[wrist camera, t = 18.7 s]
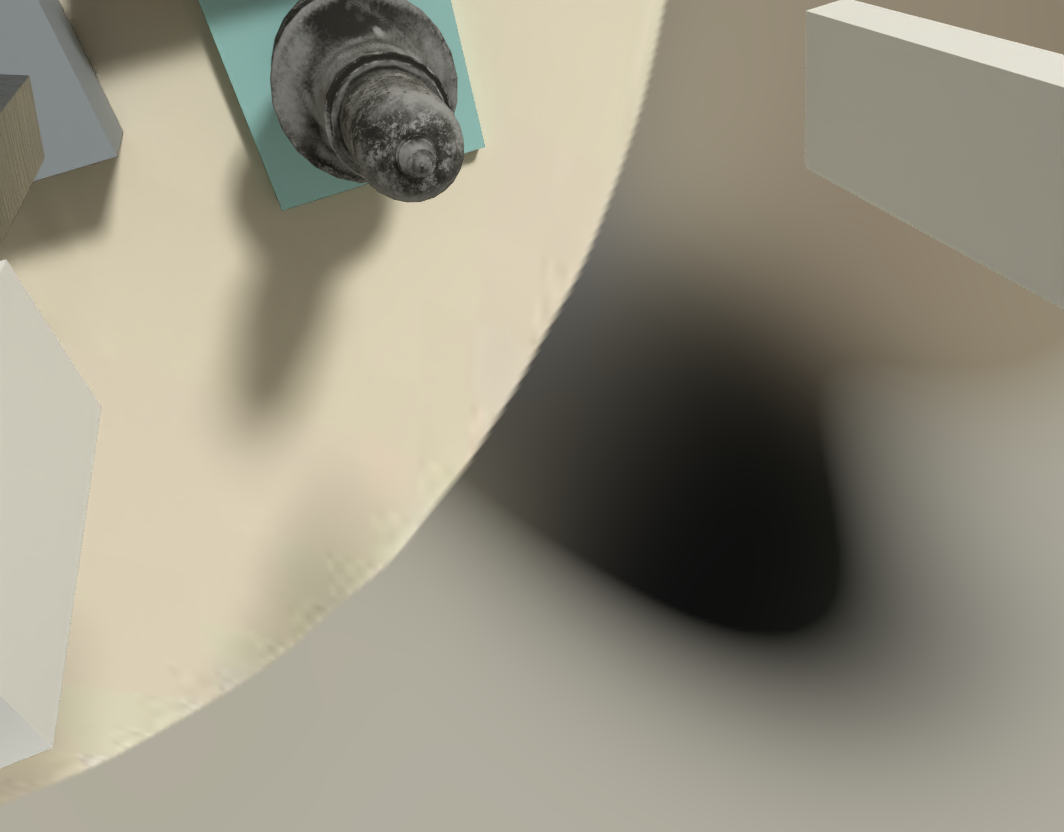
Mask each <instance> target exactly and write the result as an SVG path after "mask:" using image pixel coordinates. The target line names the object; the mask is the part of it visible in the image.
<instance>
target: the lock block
mask: <svg viewBox="0 0 1064 832" xmlns="http://www.w3.org/2000/svg"><path fill="white" fill-rule="evenodd" d="M0 74H8V75H29V76H30V81H31V87H32V92H33V97H34V102H35V108H36V113H37V118H38V123H39V129H40V134H41V139H42V144H43V149H44V155H45V159H44V161H43V163H42V165H41V167H40V169H39V171H38V173H37V175H36V177H35V179H34V181H36V180H39V179H43V178H46V177H50V176H53V175H56V174H60V173H63V172H66V171H70V170H73V169H76V168H80V167H83V166H87V165H90V164H93V163H97V162H100V161H103V160H107V159H110V158H114V157H117V154H118V150H119V146H120V143H121V139H122V135H123V130H122V128H121V126H120V124H119V122H118V120H117V118H116V116H115V114H114V112H113V110H112V108H111V106H110V104H109V102H108V100H107V98H106V95H105V93H104V91H103V89H102V87H101V85H100V83H99V81H98V79H97V77H96V75H95V73H94V71H93V69H92V67H91V65H90V63H89V61H88V59H87V57H86V55H85V53H84V51H83V49H82V46H81V44H80V42H79V40H78V38H77V36H76V34H75V32H74V30H73V28H72V26H71V24H70V22H69V20H68V18H67V16H66V14H65V12H64V10H63V8H62V6H61V4H60V2H59V0H0Z"/></svg>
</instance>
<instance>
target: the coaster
mask: <svg viewBox="0 0 1064 832" xmlns="http://www.w3.org/2000/svg"><path fill="white" fill-rule="evenodd" d="M198 1H199V3H200V6H201V8H202V11H203V13H204V16H205V18H206V21H207V23H208V26H209V28H210V31H211V33H212V36H213V38H214V41H215V43H216V46H217V48H218V51H219V53H220V56H221V58H222V61H223V63H224V66H225V68H226V71H227V73H228V76H229V78H230V81H231V83H232V86H233V88H234V91H235V93H236V96H237V98H238V101H239V103H240V106H241V108H242V111H243V113H244V116H245V118H246V121H247V123H248V126H249V128H250V131H251V134H252V136H253V139H254V141H255V144H256V146H257V149H258V151H259V154H260V156H261V159H262V161H263V164H264V166H265V169H266V171H267V174H268V176H269V179H270V181H271V184H272V186H273V189H274V191H275V194H276V196H277V199H278V201H279V204H280V206H281V209H282V211H283V210H286V209H289V208H292V207H296V206H299V205H302V204H305V203H308V202H311V201H315V200H318V199H321V198H324V197H327V196H331V195H334V194H337V193H340V192H343V191H346V190H350V189H353V188H356V187H359V186H362V185H366V184H369V183H358V182H353V181H348V180H343V179H339V178H336V177H334V176H332V175H330V174H328V173H326V172H324V171H322V170H320V169H318V168H316V167H315V166H314V165H312V164H311V163H310V162H309V161H308V160H307V159H305V158H304V157H303V156H302V155H301V154H300V153H299V152H297V151H296V149H295V148H294V146H293V145H292V143H291V142H290V141H289V139H288V138H287V136H286V135H285V133H284V132H283V131H282V128H281V126H280V123H279V120H278V118H277V115H276V113H275V110H274V107H273V104H272V95H271V85H270V74H271V67H272V54H273V47H274V41H275V36H276V34H277V32H278V30H279V27H280V25H281V23H282V21H283V18H284V17H285V16H286V15H287V13H288V12H289V11H290V10H291V9H292V8H293V6H294V5H295V4H296V3H297V2H298V1H299V0H198ZM407 1H409V2H410V3H412V4H413V5H415V6H417V7H418V8H420V9H421V10H422V11H423V12H424V13H425V14H426V15H427V16H428V17H429V18H430V19H431V21H432V22H433V23H434V24H435V25H436V26H437V27H438V28H439V29H440V31H441V33H442V35H443V37H444V39H445V41H446V43H447V45H448V47H449V48H450V50H451V52H452V56H453V60H454V65H455V69H456V73H457V77H458V83H457V105H456V109H455V113H454V115H455V117H456V119H457V120H458V122H459V124H460V127H461V131H462V135H463V139H464V153H467V152H470V151H474V150H477V149H480V148H483V147H485V144H484V140H483V136H482V131H481V127H480V123H479V119H478V114H477V110H476V106H475V102H474V97H473V93H472V89H471V85H470V80H469V76H468V72H467V68H466V63H465V59H464V55H463V51H462V46H461V42H460V38H459V34H458V29H457V25H456V21H455V17H454V12H453V8H452V4H451V0H407Z"/></svg>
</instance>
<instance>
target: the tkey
mask: <svg viewBox="0 0 1064 832" xmlns="http://www.w3.org/2000/svg"><path fill="white" fill-rule="evenodd" d="M44 159H45V155H44V149H43V144H42V139H41V134H40V129H39V123H38V118H37V113H36V108H35V102H34V97H33V92H32V87H31V81H30V76H29V75H8V74H0V245H1V243H2V242H3V240H4V238H5V236H6V234H7V232H8V230H9V228H10V226H11V224H12V222H13V220H14V218H15V216H16V214H17V212H18V210H19V208H20V206H21V204H22V202H23V200H24V199H25V197H26V195H27V193H28V191H29V189H30V187H31V185H32V183H33V181H34V179H35V177H36V175H37V173H38V171H39V169H40V167H41V165H42V163H43V161H44Z"/></svg>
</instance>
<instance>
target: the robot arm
mask: <svg viewBox="0 0 1064 832" xmlns="http://www.w3.org/2000/svg"><path fill="white" fill-rule="evenodd" d="M805 77H806V81H805V168H807V169H809V170H811V171H812V172H814V173H816V174H818V175H820V176H821V177H824V178H825V179H827V180H829V181H831V182H832V183H834V184H836V185H838V186H840V187H841V188H843V189H845V190H847V191H849V192H851V193H853V194H854V195H856V196H858V197H860V198H861V199H863V200H865V201H867V202H869V203H871V204H872V205H874V206H876V207H878V208H880V209H882V210H883V211H885V212H887V213H889V214H891V215H893V216H894V217H896V218H898V219H900V220H902V221H904V222H905V223H907V224H909V225H911V226H913V227H914V228H916V229H918V230H920V231H922V232H923V233H925V234H927V235H929V236H931V237H932V238H934V239H936V240H938V241H940V242H942V243H943V244H945V245H947V246H949V247H951V248H953V249H955V250H956V251H958V252H960V253H962V254H963V255H965V256H967V257H969V258H971V259H973V260H974V261H976V262H978V263H980V264H982V265H984V266H985V267H987V268H989V269H991V270H993V271H994V272H996V273H998V274H1000V275H1002V276H1003V277H1006V278H1007V279H1009V280H1011V281H1013V282H1015V283H1017V284H1018V285H1020V286H1022V287H1024V288H1025V289H1027V290H1029V291H1031V292H1033V293H1034V294H1036V295H1038V296H1040V297H1042V298H1044V299H1045V300H1047V301H1049V302H1051V303H1053V304H1055V305H1057V306H1058V307H1060V308H1062V309H1064V55H1062V54H1058V53H1055V52H1050V51H1047V50H1043V49H1039V48H1035V47H1031V46H1027V45H1024V44H1020V43H1016V42H1012V41H1008V40H1004V39H1001V38H997V37H993V36H989V35H985V34H981V33H977V32H974V31H970V30H966V29H962V28H958V27H955V26H951V25H947V24H943V23H939V22H935V21H931V20H928V19H924V18H920V17H916V16H912V15H908V14H905V13H900V12H897V11H893V10H889V9H885V8H881V7H878V6H874V5H870V4H866V3H862V2H858V1H855V0H839V1H836V2H833V3H830V4H826V5H823V6H820V7H817V8H813V9H810V10H807V11H806V75H805ZM100 412H101V405H100V404H99V402H98V401H97V399H96V398H95V396H94V395H93V393H92V392H91V390H90V388H89V387H88V385H87V384H86V382H85V381H84V379H83V378H82V376H81V374H80V373H79V371H78V370H77V368H76V367H75V365H74V364H73V362H72V361H71V359H70V357H69V356H68V354H67V353H66V351H65V350H64V348H63V347H62V345H61V344H60V342H59V340H58V339H57V337H56V336H55V334H54V333H53V331H52V330H51V328H50V326H49V325H48V323H47V322H46V320H45V319H44V317H43V316H42V314H41V313H40V311H39V309H38V308H37V306H36V305H35V303H34V302H33V300H32V299H31V297H30V295H29V294H28V292H27V291H26V289H25V288H24V286H23V285H22V283H21V282H20V280H19V278H18V277H17V275H16V274H15V272H14V271H13V269H12V268H11V266H10V264H9V263H8V261H7V260H6V259H5V260H2V261H0V768H3V767H5V766H8V765H10V764H13V763H15V762H18V761H20V760H23V759H26V758H28V757H31V756H33V755H36V754H38V753H41V752H43V751H46V750H48V749H51V748H53V744H54V737H55V730H56V723H57V716H58V709H59V702H60V695H61V688H62V681H63V674H64V667H65V660H66V653H67V645H68V638H69V631H70V624H71V617H72V610H73V603H74V596H75V589H76V582H77V575H78V568H79V561H80V554H81V547H82V539H83V532H84V525H85V518H86V511H87V504H88V497H89V490H90V483H91V476H92V469H93V462H94V455H95V448H96V441H97V433H98V426H99V419H100Z"/></svg>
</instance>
